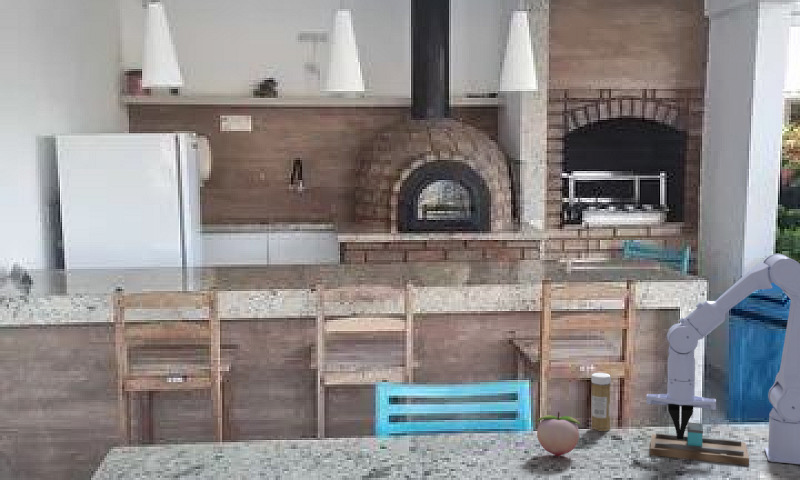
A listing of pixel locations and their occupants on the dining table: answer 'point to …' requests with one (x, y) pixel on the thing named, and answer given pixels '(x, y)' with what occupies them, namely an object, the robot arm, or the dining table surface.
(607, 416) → the sprinkles bottle
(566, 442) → the decorative fruit
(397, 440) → the dining table surface
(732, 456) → the fader console
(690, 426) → the fader tab
